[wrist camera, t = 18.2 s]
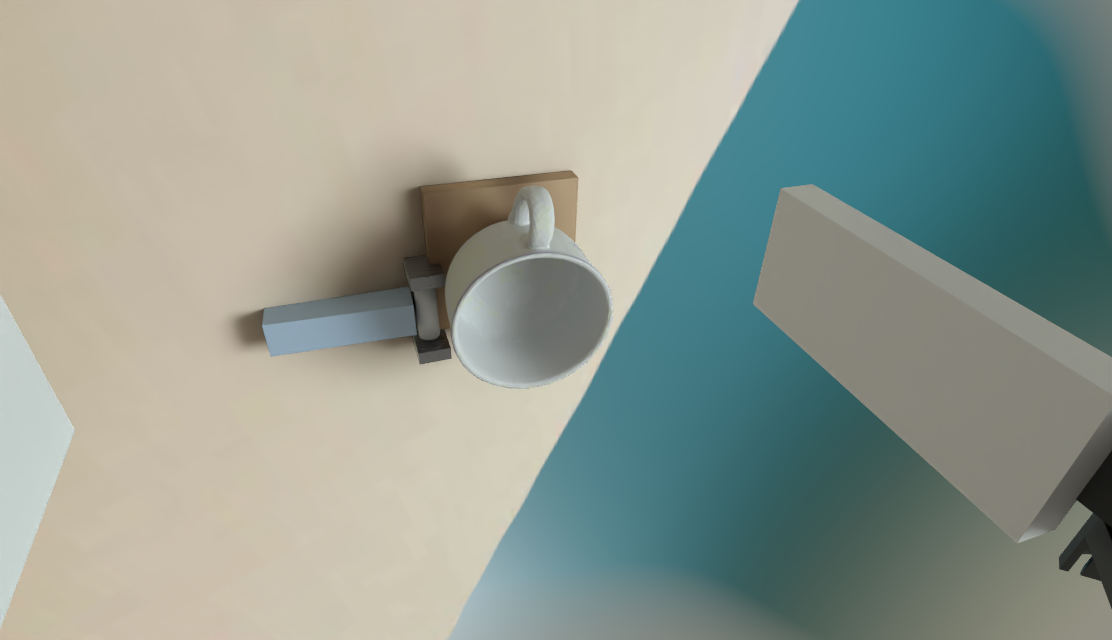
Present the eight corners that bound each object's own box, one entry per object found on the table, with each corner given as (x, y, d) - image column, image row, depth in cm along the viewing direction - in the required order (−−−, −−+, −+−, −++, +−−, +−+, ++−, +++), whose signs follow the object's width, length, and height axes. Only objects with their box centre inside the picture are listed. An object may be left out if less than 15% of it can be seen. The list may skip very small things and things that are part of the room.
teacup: (550, 332, 52) (586, 393, 46) (419, 326, 48) (439, 393, 41) (601, 170, 46) (651, 216, 39) (454, 145, 41) (485, 193, 35)
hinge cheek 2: (413, 341, 50) (419, 364, 47) (412, 331, 49) (418, 353, 47) (443, 336, 50) (451, 358, 48) (443, 326, 50) (450, 347, 48)
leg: (432, 271, 47) (437, 289, 45) (437, 322, 50) (442, 342, 47) (261, 293, 44) (258, 313, 42) (276, 346, 47) (274, 367, 44)
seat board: (433, 320, 49) (436, 330, 48) (419, 186, 43) (423, 194, 42) (566, 297, 52) (572, 306, 51) (571, 170, 46) (578, 177, 45)
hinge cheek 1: (404, 270, 46) (411, 291, 44) (403, 258, 46) (409, 279, 43) (437, 266, 47) (445, 286, 45) (436, 254, 46) (444, 273, 44)
